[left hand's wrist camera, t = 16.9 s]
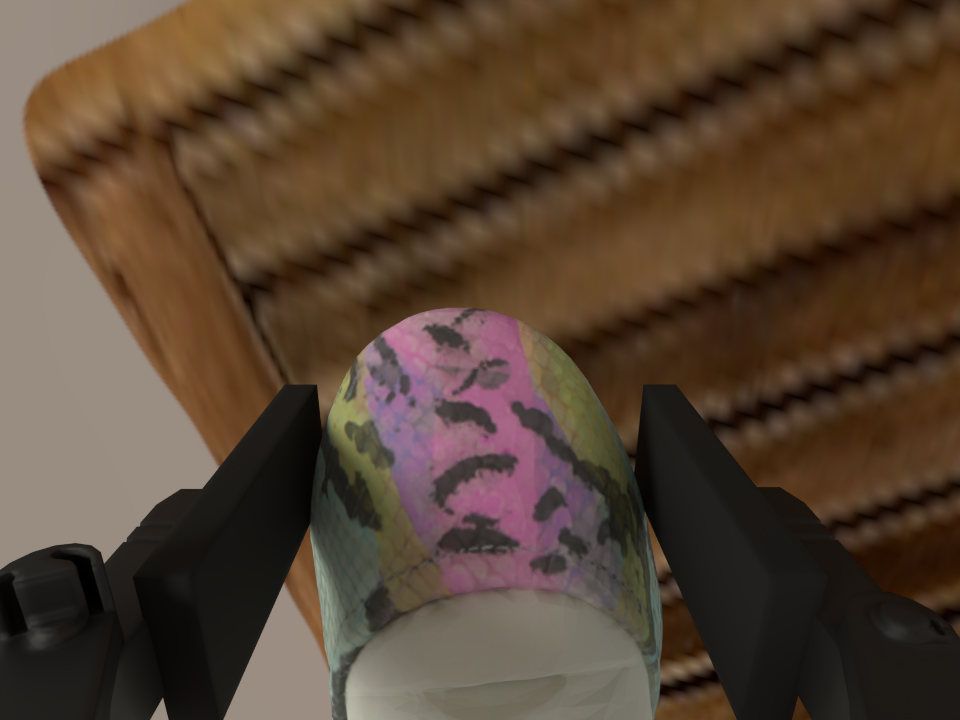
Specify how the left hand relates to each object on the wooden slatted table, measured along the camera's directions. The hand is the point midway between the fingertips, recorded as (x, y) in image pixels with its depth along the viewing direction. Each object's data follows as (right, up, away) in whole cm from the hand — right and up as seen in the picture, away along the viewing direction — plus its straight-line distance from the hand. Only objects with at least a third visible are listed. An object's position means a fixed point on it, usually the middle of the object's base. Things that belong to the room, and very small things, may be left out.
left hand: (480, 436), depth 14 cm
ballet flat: (0, -8, +4) cm, 9 cm away
